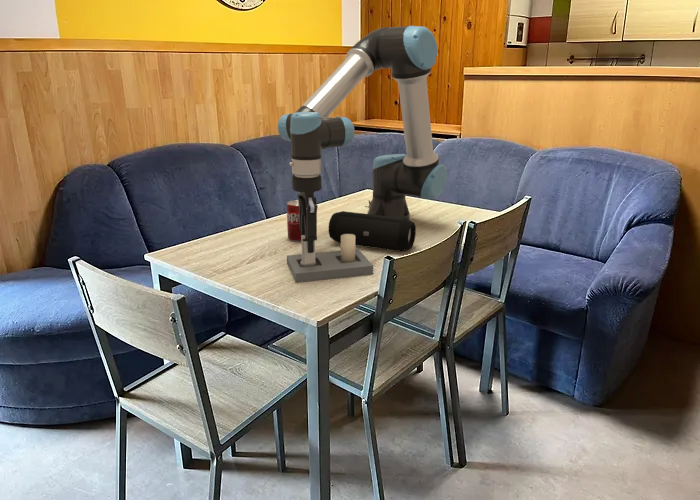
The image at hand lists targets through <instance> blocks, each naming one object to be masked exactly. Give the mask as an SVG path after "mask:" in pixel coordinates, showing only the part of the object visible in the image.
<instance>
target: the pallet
mask: <svg viewBox="0 0 700 500" xmlns="http://www.w3.org/2000/svg"><path fill="white" fill-rule="evenodd" d="M301 261H302V253H301V254H300V253H299V254H289V255H288V254H287V255H286V265H287V267H288V270H289V271H290V273H291V276H292V278H293V280H294V283H295V284H297V283H305V282H314V281H324V280H332V279H333V280H334V279H342V278H351V277H361V276H368V275H369V276H371V275H374V265H373V264H372V262H371V261H370V260H369V259H368V258H367V257H366V256H365V254H364V253H363V252H362V250H360V249H359V248H356V245H355V235H353V234H343V235H341V243H340V250H332V251H331V250H330V251H322V252H321V251H320V252H315V261H316V266H309V267H300V266H301V264H300V262H301Z"/></svg>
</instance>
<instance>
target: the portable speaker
mask: <svg viewBox="0 0 700 500" xmlns="http://www.w3.org/2000/svg"><path fill="white" fill-rule="evenodd" d="M416 231H417V230H416V224H415V222H414V221H412V220H411V219H410V220H408V219H406V218H398V217H390V216H381V215H372V214H368V213H364V212H363V213H360V212H353V211H344V210H342V211H338V212H334V213H333V214H332V215H331V217H330V219H329V222H328V236H329V238H330V239H331V240H334V241H335V242H337V243H340V244H341V235H343V234H353V235H355V246H358V245H359V247H365V246H366V248H367V247H368V248H372V249H373V248H374V249H380V248H381V249H382V250H387V249H389V250H390V251H396V252H405V251H410V250H412V248H413V247H414V244H415V239H416V235H417V234H416ZM389 250H388V251H389Z"/></svg>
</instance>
